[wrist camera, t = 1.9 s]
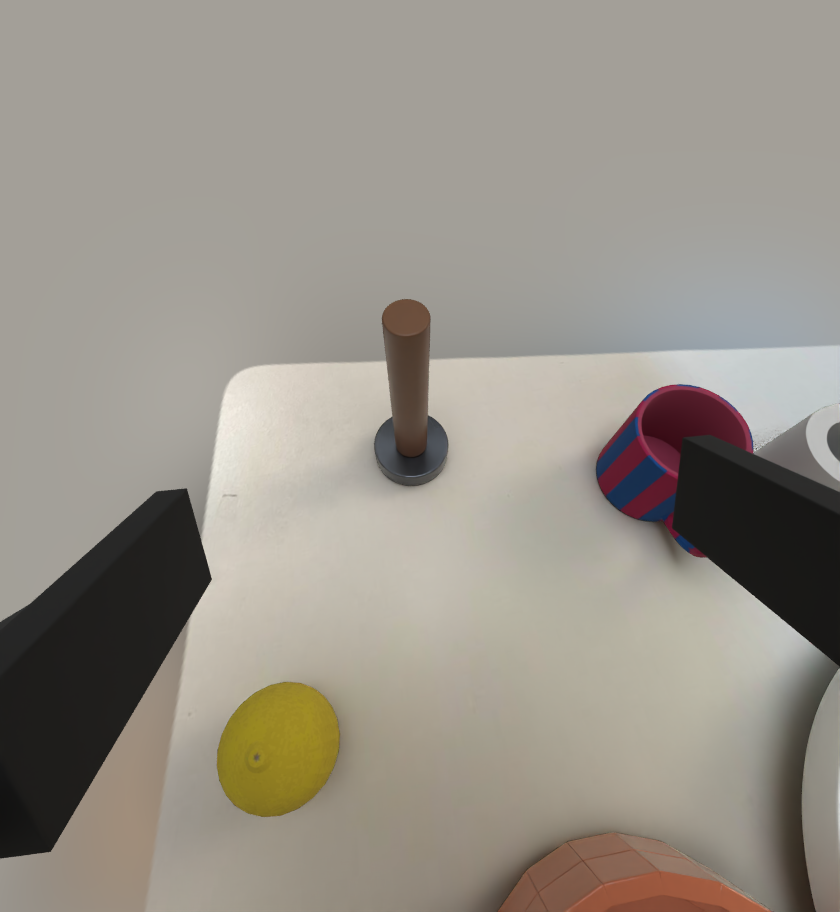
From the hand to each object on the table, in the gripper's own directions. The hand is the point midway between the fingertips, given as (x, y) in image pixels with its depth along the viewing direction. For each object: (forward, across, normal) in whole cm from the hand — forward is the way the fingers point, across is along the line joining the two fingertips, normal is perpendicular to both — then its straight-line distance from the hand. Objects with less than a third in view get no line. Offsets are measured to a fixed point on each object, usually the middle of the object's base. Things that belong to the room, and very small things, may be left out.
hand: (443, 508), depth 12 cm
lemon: (+9, -8, -18) cm, 22 cm away
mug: (+17, +16, -10) cm, 25 cm away
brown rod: (+21, 0, -6) cm, 22 cm away
